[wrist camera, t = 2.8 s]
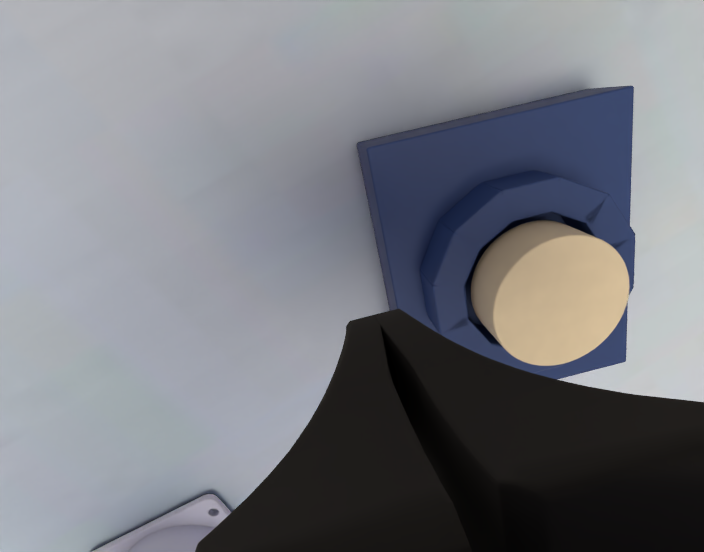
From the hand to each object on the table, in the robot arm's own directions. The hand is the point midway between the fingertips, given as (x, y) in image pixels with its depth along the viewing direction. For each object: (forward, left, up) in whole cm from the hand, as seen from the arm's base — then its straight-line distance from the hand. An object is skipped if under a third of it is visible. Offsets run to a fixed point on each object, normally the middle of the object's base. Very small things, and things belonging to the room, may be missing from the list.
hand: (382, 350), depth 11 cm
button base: (-4, -6, -9) cm, 12 cm away
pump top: (-4, -6, -5) cm, 9 cm away
